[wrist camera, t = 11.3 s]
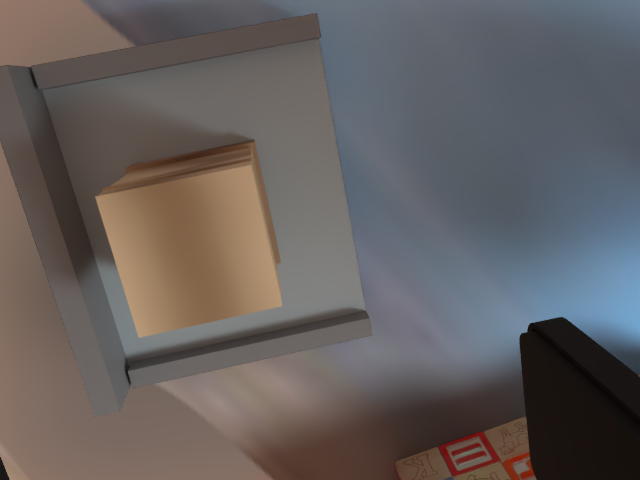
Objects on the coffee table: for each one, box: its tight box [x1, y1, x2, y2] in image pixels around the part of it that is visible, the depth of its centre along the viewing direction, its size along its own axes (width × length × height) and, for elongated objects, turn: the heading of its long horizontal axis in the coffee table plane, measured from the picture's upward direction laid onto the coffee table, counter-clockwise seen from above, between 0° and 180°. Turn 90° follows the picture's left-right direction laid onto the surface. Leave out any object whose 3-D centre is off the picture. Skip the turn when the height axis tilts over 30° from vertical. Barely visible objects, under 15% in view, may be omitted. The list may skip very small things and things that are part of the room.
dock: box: [0, 13, 372, 417], centre depth 27 cm, size 14×16×6 cm
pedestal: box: [95, 140, 282, 338], centre depth 24 cm, size 6×6×7 cm
